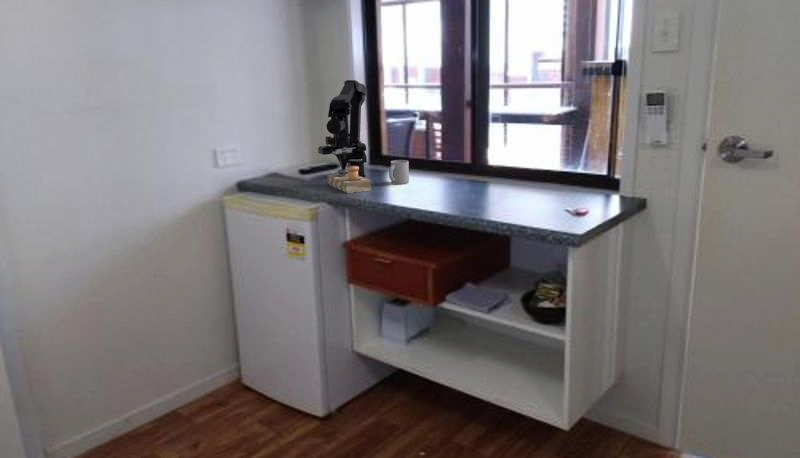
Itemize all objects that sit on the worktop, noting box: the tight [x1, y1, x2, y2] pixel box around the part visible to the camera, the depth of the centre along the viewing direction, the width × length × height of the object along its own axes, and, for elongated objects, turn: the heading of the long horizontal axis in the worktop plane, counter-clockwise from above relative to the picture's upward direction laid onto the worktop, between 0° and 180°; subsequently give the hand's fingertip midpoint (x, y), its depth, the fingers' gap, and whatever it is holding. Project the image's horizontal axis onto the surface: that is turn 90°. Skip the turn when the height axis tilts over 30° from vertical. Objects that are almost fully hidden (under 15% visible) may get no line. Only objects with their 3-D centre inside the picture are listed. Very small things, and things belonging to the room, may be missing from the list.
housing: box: [327, 173, 372, 194], centre depth 248 cm, size 20×10×4 cm, turn 27°
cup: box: [388, 159, 410, 186], centre depth 252 cm, size 7×10×9 cm
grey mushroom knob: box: [337, 168, 348, 177], centre depth 251 cm, size 5×5×6 cm
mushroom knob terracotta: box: [346, 166, 359, 181], centre depth 242 cm, size 5×5×6 cm
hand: (343, 169), depth 251 cm, fingers closed, pressing on grey mushroom knob
